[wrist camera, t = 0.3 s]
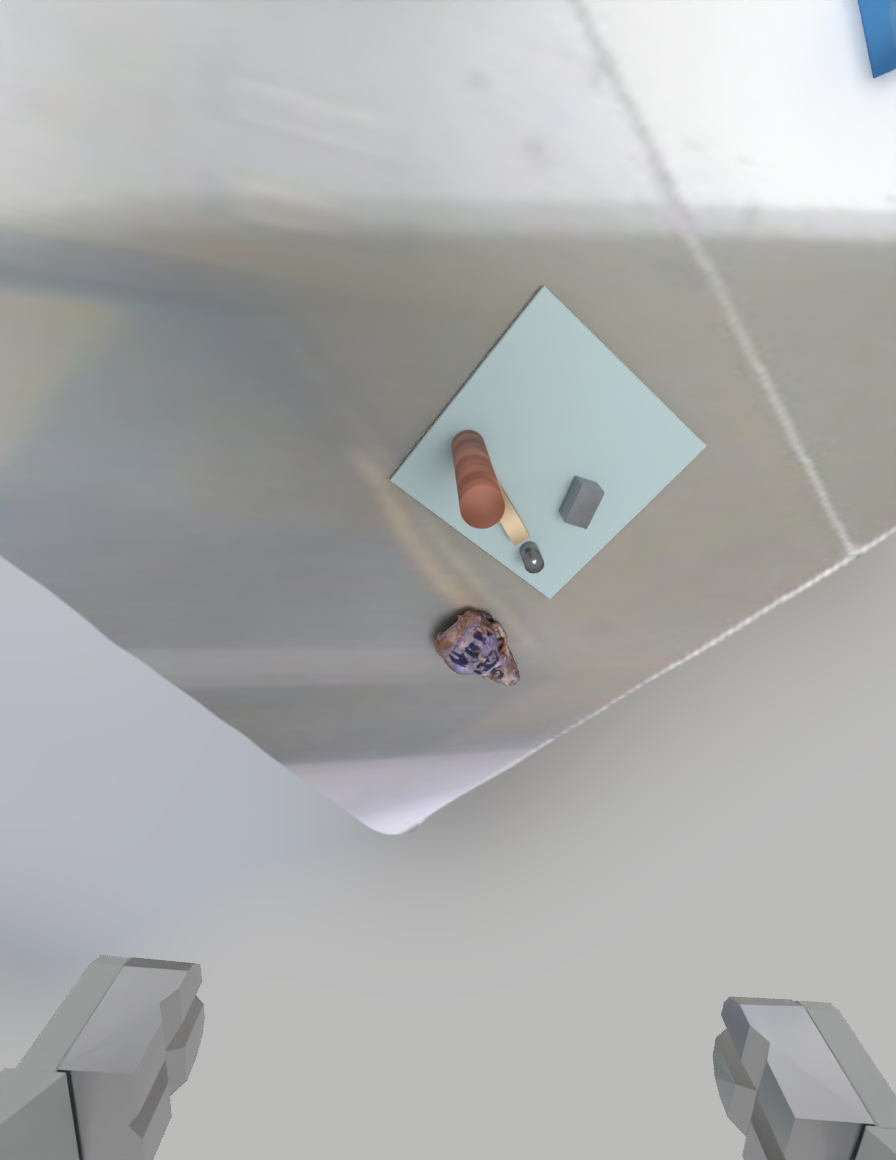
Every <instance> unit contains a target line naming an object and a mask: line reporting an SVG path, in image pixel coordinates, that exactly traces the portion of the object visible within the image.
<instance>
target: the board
mask: <svg viewBox="0 0 896 1160" xmlns="http://www.w3.org/2000/svg"><path fill="white" fill-rule="evenodd" d="M465 430H472V431H475V432H477V433H479V434H480V435H481V436H482V438H483V440H484V442H485V445H486V448H487V451H488V454H489V457H490V460H491V463H492V466H493V469H494V472H495V475H496V477H497V478H498V480H499V482H500V484H501V485H502V487H503V489H504V491H505V492H506V494H507V496H508V497H509V499H510V501H511V503H512V504H513V506H514V508H515V510H516V511H517V513H518V515H519V517H520V518H521V520H522V522H523V523H524V525H525V527H526V529H527V530H528V533H529V535H530V538H528V539H526V540H524V541H523V542H521V543H519V544H517V545H515V546H514V544H513V543H512V541H511V539H510V538H509V536H508V534H507V533H506V531H505V529H504V528H503V526H502V524H501V523H500V521H499V522H498V523H497V524H495V525H494V526H492V527H489V528H486V529H478V528H474V527H471V526H470V525H468V524H467V523H466V522H465V521H464V520H463V518H462V516H461V513H460V507H459V499H458V492H457V484H456V477H455V470H454V462H453V455H452V442H453V439H454V438H455V436H456V435H457V434H459V433H460V432H462V431H465ZM705 447H706V445H705V444H704V443H703V442H702V441H701V440H700V439H699V438H698V437H697V436H696V435H695V434H694V433H693V432H692V431H691V430H690V429H689V428H688V427H687V426H686V425H685V424H684V423H683V422H682V421H681V420H680V419H679V418H678V417H677V416H676V415H675V414H674V413H673V412H671V411H670V410H669V409H668V408H667V407H666V406H665V405H664V404H663V403H662V402H661V401H660V400H659V399H658V398H657V397H656V396H655V395H654V394H653V393H652V392H651V391H650V390H649V389H648V388H647V387H646V386H645V385H644V384H643V383H642V382H641V381H640V380H639V379H638V378H637V377H636V376H635V375H634V374H633V373H632V372H631V371H630V370H629V369H628V368H627V367H626V366H625V365H624V364H623V363H622V362H621V361H620V360H619V359H618V358H617V357H616V356H615V355H614V354H613V353H612V352H611V351H610V350H609V349H608V348H607V347H606V346H605V345H604V344H603V343H602V342H601V341H600V340H599V339H598V338H597V337H596V336H595V335H594V334H593V333H592V332H591V331H590V330H588V329H587V328H586V327H585V326H584V325H583V324H582V323H581V322H580V321H579V320H578V319H577V318H576V317H575V316H574V315H573V314H572V313H571V312H570V311H569V310H568V309H567V308H566V307H565V306H564V305H563V304H562V303H561V302H560V301H559V300H558V299H557V298H556V297H555V296H554V295H553V294H552V293H551V292H550V291H549V290H548V289H547V288H546V287H545V286H541V288H540V289H539V290H538V292H537V293H536V294H535V295H534V297H533V298H532V299H531V300H530V302H529V303H528V304H527V305H526V307H525V308H524V309H523V311H522V312H521V313H520V314H519V316H518V317H517V318H516V319H515V321H514V322H513V323H512V325H511V326H510V327H509V328H508V330H507V331H506V332H505V333H504V335H503V336H502V337H501V338H500V340H499V341H498V342H497V344H496V345H495V346H494V347H493V349H492V350H491V351H490V352H489V354H488V355H487V356H486V357H485V359H484V360H483V361H482V363H481V364H480V365H479V366H478V368H477V369H476V370H475V371H474V373H473V374H472V375H471V377H470V378H469V379H468V380H467V382H466V383H465V384H464V385H463V387H462V388H461V389H460V390H459V392H458V393H457V394H456V396H455V397H454V398H453V399H452V401H451V402H450V403H449V404H448V406H447V407H446V408H445V409H444V411H443V412H442V413H441V415H440V416H439V417H438V418H437V420H436V421H435V422H434V423H433V425H432V426H431V427H430V429H429V430H428V431H427V432H426V434H425V435H424V436H423V437H422V439H421V440H420V441H419V442H418V444H417V445H416V446H415V448H414V449H413V450H412V451H411V453H410V454H409V455H408V456H407V458H406V459H405V460H404V461H403V463H402V464H401V465H400V467H399V468H398V469H397V470H396V472H395V473H394V474H393V475H392V477H391V480H390V481H391V482H393V483H394V484H395V485H397V486H398V487H400V488H401V489H402V490H404V491H405V492H406V493H408V494H409V495H410V496H412V497H413V498H414V499H416V500H417V501H418V502H420V503H421V504H422V505H424V506H425V507H426V508H428V509H429V510H431V511H432V512H433V513H435V514H436V515H437V516H439V517H440V518H441V519H443V520H444V521H445V522H447V523H448V524H449V525H451V526H452V527H453V528H455V529H456V530H458V531H459V532H460V533H462V534H463V535H464V536H466V537H467V538H468V539H470V540H471V541H472V542H474V543H475V544H476V545H478V546H479V547H480V548H482V549H483V550H484V551H486V552H487V553H489V554H490V555H491V556H493V557H494V558H495V559H497V560H498V561H499V562H501V563H502V564H503V565H505V566H506V567H507V568H509V569H510V570H511V571H513V572H514V573H515V574H517V575H518V576H520V577H521V578H522V579H524V580H525V581H526V582H528V583H529V584H530V585H532V586H533V587H534V588H536V589H537V590H538V591H540V592H541V593H542V594H544V595H545V596H546V597H548V598H549V599H551V598H552V597H553V596H554V595H555V594H556V593H557V592H558V591H559V590H560V589H561V588H562V587H563V586H564V585H565V584H566V583H567V582H568V581H569V580H570V579H571V578H572V577H573V576H574V575H575V574H576V573H577V572H578V571H579V570H580V569H581V568H582V567H583V566H584V565H585V564H586V563H587V562H588V561H589V560H590V559H592V558H593V557H594V556H595V555H596V554H597V553H598V552H599V551H600V550H601V549H602V548H603V547H604V546H605V545H606V544H607V543H608V542H609V541H610V540H611V539H612V538H613V537H614V536H615V535H616V534H617V533H618V532H619V531H620V530H621V529H622V528H623V527H624V526H625V525H626V524H627V523H628V522H629V521H630V520H631V519H632V518H633V517H635V516H636V515H637V514H638V513H639V512H640V511H641V510H642V509H643V508H644V507H645V506H646V505H647V504H648V503H649V502H650V501H651V500H652V499H653V498H654V497H655V496H656V495H657V494H658V493H659V492H660V491H661V490H662V489H663V488H664V487H665V486H666V485H667V484H668V483H669V482H670V481H671V480H672V479H673V478H674V477H675V476H677V475H678V474H679V473H680V472H681V471H682V470H683V469H684V468H685V467H686V466H687V465H688V464H689V463H690V462H691V461H692V460H693V459H694V458H695V457H696V456H697V455H698V454H699V453H700V452H701V451H702V450H703V449H704V448H705ZM575 475H576V476H579V477H582V478H585V479H588V480H591V481H594V482H597V483H598V485H599V486H600V487H601V488H602V490H603V491H604V492H605V494H604V496H603V498H602V500H601V502H600V504H599V506H598V508H597V510H596V512H595V514H594V516H593V518H592V520H591V522H590V524H589V526H588V528H587V529H584V528H581V527H578V526H575V525H571V524H568V523H565V522H564V520H563V518H562V516H561V515H560V513H559V509H560V507H561V504H562V502H563V500H564V498H565V496H566V494H567V492H568V489H569V487H570V485H571V483H572V481H573V479H574V477H575ZM527 541H532V542H535V543H536V544H537V545H538V548H539V550H540V553H541V555H542V558H543V560H544V568H543V569H542V570H541V571H540V572H539V573H535V574H532V573H529V572H527V571H526V569H525V566H524V563H523V560H522V557H521V554H520V547H521V545H522V544H523V543H525V542H527Z"/></svg>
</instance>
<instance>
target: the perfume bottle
mask: <svg viewBox="0 0 896 1160" xmlns="http://www.w3.org/2000/svg"><path fill="white" fill-rule="evenodd" d="M858 3H859V8H860V13H861V18H862V23H863V28H864V33H865V38H866V43H867V48H868V53H869V59H870V64H871V69H872V74H873V78H876V77H878V76H880V75H882V74H885V73H887V72H889V71H892V70H894V69H896V0H858Z"/></svg>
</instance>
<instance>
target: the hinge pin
mask: <svg viewBox="0 0 896 1160" xmlns="http://www.w3.org/2000/svg"><path fill="white" fill-rule="evenodd" d="M520 554H521V557H522V560H523V563H524V566H525V569H526V571H527V572H529V573H532V574H535V573H539V572H540V571H541V570H542V569H543V568H544V560H543V558H542V555H541V553H540V550H539V548H538V545H537V544H536V543H535V542H532V541H527V542H525V543H523V544H522V545H521V547H520Z"/></svg>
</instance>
